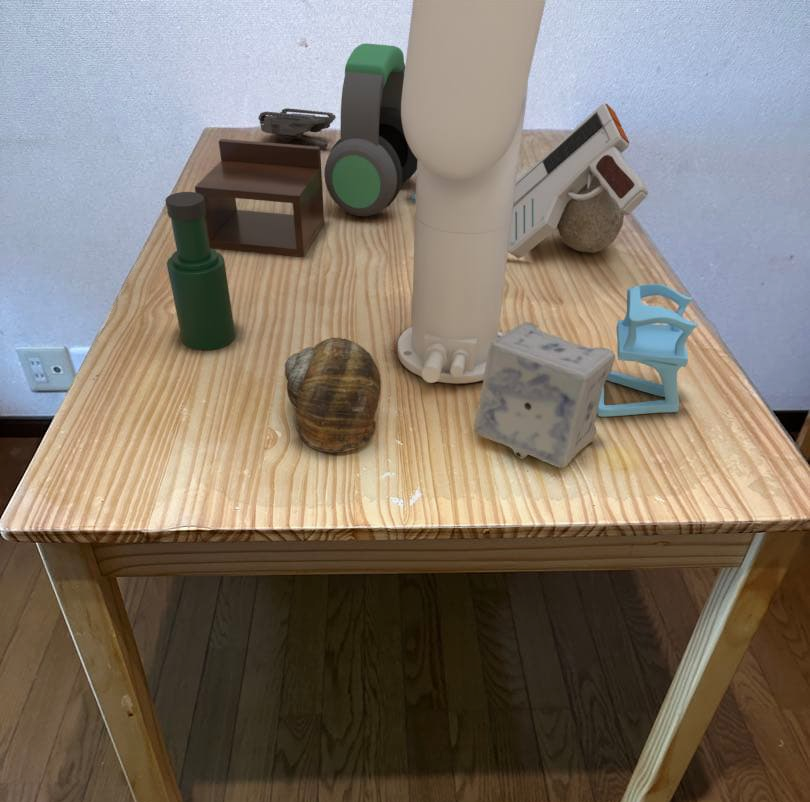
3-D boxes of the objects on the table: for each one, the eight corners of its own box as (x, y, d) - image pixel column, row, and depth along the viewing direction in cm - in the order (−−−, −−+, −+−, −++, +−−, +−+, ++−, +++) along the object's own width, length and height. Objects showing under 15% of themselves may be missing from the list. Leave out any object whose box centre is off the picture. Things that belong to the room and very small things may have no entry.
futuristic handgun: (525, 299, 104) (494, 215, 110) (656, 198, 92) (614, 108, 98) (513, 293, 102) (482, 207, 108) (645, 188, 91) (603, 97, 96)
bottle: (224, 353, 87) (202, 212, 76) (173, 347, 88) (144, 207, 77) (242, 326, 91) (223, 190, 81) (193, 321, 92) (168, 185, 81)
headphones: (361, 172, 127) (358, 28, 113) (426, 180, 125) (431, 34, 111) (321, 216, 114) (312, 60, 100) (393, 226, 112) (394, 67, 98)
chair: (679, 425, 79) (714, 316, 70) (596, 416, 80) (621, 307, 71) (674, 384, 84) (706, 278, 76) (596, 375, 85) (618, 270, 77)
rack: (303, 257, 105) (297, 175, 98) (204, 247, 107) (191, 166, 99) (324, 224, 113) (320, 146, 105) (231, 215, 114) (220, 138, 107)
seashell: (292, 389, 82) (285, 319, 77) (381, 389, 82) (380, 320, 77) (282, 455, 74) (273, 383, 69) (380, 455, 74) (380, 383, 69)
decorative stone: (547, 233, 111) (558, 159, 104) (606, 234, 111) (621, 160, 104) (557, 265, 104) (569, 188, 97) (620, 266, 104) (637, 189, 97)
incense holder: (598, 435, 77) (621, 341, 70) (562, 480, 72) (582, 383, 65) (510, 402, 81) (523, 310, 74) (470, 442, 76) (479, 347, 69)
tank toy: (309, 117, 129) (311, 151, 132) (340, 111, 136) (341, 144, 139) (251, 112, 133) (254, 145, 136) (284, 107, 140) (286, 139, 143)
